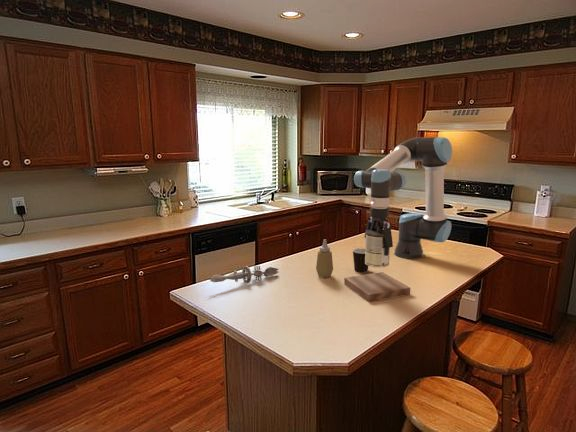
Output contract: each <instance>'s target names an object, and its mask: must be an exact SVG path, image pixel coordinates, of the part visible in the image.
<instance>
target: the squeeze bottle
mask: <svg viewBox="0 0 576 432" xmlns="http://www.w3.org/2000/svg"><path fill="white" fill-rule="evenodd" d="M327 242H328V240H327V239H323V242H322V245H321V246H319V251H318V252H317V257H316V265H315V270H316V274H317V276H318V278H321V279H328V278H331V276H332V274H333V272H334V263H333V252H332V251H331V247H330V246H329V245H328V243H327Z"/></svg>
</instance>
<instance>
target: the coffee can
mask: <svg viewBox="0 0 576 432" xmlns="http://www.w3.org/2000/svg"><path fill="white" fill-rule="evenodd" d="M365 231H366V238H365V248H364V249H365V264H366V265H368V267H371V268H386V267H389V266H390V254H391V252H390V250H391V247H390V248H389V255H388V262H387V263H381V258H382V247H383V243H382V239H383V237H385V234H380V232H378V230H374V231H371V230H370V229H369V230H366V229H365Z"/></svg>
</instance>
